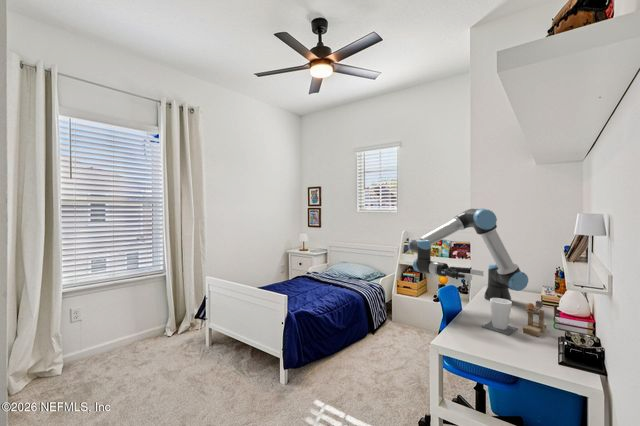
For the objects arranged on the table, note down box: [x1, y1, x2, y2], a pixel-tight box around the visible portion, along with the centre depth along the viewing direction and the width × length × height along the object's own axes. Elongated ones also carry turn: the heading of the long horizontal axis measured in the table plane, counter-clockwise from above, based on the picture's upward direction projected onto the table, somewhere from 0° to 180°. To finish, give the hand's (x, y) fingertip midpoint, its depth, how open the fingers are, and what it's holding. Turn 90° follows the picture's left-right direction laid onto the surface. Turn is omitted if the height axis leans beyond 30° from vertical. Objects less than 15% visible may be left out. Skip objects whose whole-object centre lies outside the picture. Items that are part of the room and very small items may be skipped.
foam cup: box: [489, 298, 513, 329], centre depth 153 cm, size 10×9×13 cm
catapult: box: [522, 300, 548, 338], centre depth 149 cm, size 17×6×15 cm, turn 130°
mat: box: [482, 320, 519, 336], centre depth 153 cm, size 12×12×1 cm
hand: (477, 275), depth 160 cm, fingers open, 13 cm apart
